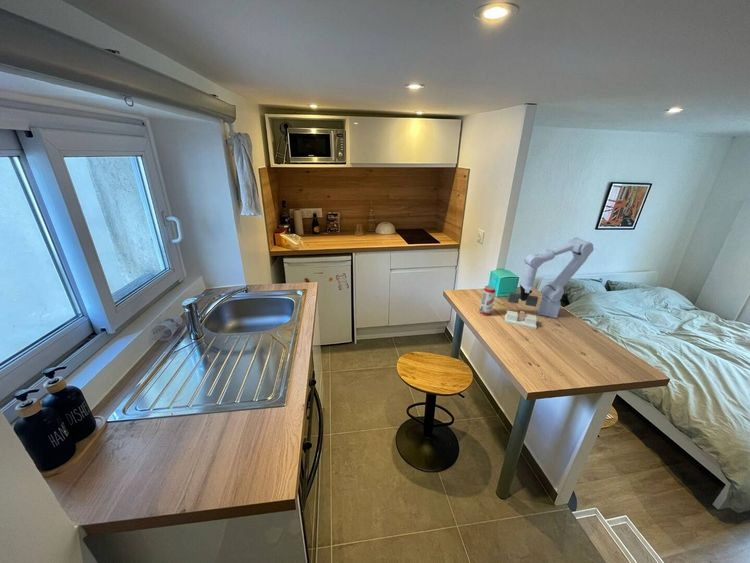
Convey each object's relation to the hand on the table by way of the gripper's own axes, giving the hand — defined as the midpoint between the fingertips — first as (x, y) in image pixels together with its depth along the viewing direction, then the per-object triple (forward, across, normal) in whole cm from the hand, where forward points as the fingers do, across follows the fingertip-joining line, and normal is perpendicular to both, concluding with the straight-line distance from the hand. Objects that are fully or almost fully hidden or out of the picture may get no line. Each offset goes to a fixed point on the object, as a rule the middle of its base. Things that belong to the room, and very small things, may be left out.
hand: (522, 299), depth 158 cm
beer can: (+10, +7, -18) cm, 21 cm away
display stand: (+9, +9, 0) cm, 13 cm away
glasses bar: (+2, 0, 0) cm, 3 cm away
